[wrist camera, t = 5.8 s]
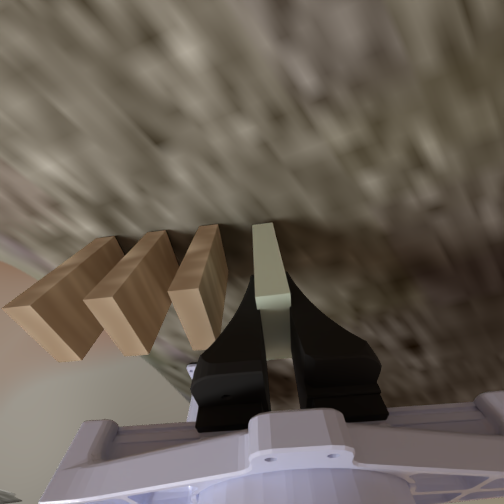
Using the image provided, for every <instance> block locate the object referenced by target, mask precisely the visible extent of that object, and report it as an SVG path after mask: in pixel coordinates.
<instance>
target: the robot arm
mask: <svg viewBox="0 0 504 504" xmlns="http://www.w3.org/2000/svg"><path fill="white" fill-rule="evenodd" d="M285 274H286V278H287V282H288V286H289V290H290V295H291V307H290V339H291V353H292V359H293V365H294V371H295V377H296V383H297V390H298V396H299V402H300V409H298V410H284V411H271V406H270V395H269V384H268V372H267V361H266V350H265V343H264V335H263V328H262V321H261V313H260V309H259V310H257V305H256V299H255V282H254V275H252V276H251V278H250V282H249V285H248V288H247V291H246V293H245V296H244V298H243V300H242V302H241V304H240V306H239V308H238V310H237V311H236V313H235V315H234V316H233V318H232V320H231V321H230V322H229V324H228V325H227V327H226V328H225V329H224V331H223V332H222V333H221V334H220V335H219V337H218V338H217V339H216V340H215V341H214V342H213V343H212V345H211V346H210V347H209V348H208V349H207V350H206V351H205V352H204V353H203V354H202V355H200V357H199V360H198V362H197V364H190V365H188V366H187V371H188V372H189V374H190V376H191V378H192V383H191V388H190V390H191V393H192V398H191V403H190V408H189V413H188V417H187V422H179V423H165V424H151V425H137V426H123V427H119V426H118V424H117V423H116V422H114V421H113V420H108V419H103V420H89V421H84V422H83V423H82V425H81V427H80V429H79V430H78V432H77V434H76V435H75V437H74V439H73V441H72V443H71V444H70V446H69V448H68V450H67V452H66V453H65V455H64V457H63V459H62V461H61V462H60V464H59V466H58V468H57V469H56V471H55V473H54V475H53V477H52V479H51V480H50V482H49V484H48V486H47V488H46V489H45V491H44V493H43V495H42V496H41V498H40V500H39V502H38V504H441V503H452V502H461V501H470V500H478V499H489V498H500V497H504V390H503V391H489V392H484V393H481V394H479V395H478V396H477V397H476V398H475V399H474V402H463V403H449V404H435V405H421V406H406V407H392V408H386V406H385V404H384V402H383V400H382V398H381V396H380V393H381V390H380V388H379V386H378V384H377V380H378V377H379V374H380V372H381V367H382V366H381V363H380V361H379V359H378V357H377V356H376V354H375V353H374V351H373V350H372V348H371V347H370V346H369V344H368V343H367V342H366V341H365V340H363V339H361V338H359V337H358V336H356V335H354V334H352V333H350V332H349V331H347V330H346V329H344V328H342V327H341V326H339V325H338V324H337V323H335V322H334V321H333V320H331V319H330V318H328V317H327V316H326V315H325V314H324V313H322V312H321V311H320V310H319V309H318V308H317V307H316V306H315V305H313V304H312V303H311V302H310V301H309V299H308V298H307V297H306V296H305V295H304V294H303V293H302V292H301V290H300V289H299V288H298V287H297V286H296V284H295V283H294V281H293V280H292V279H291V277H290V275H289V274H288V272H285Z"/></svg>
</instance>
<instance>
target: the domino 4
mask: <svg viewBox="0 0 504 504" xmlns="http://www.w3.org/2000/svg"><path fill="white" fill-rule="evenodd" d="M252 233H253V257H254V282H255V299H256V305H257V310H259V309H260V313H261V321H262V328H263V335H264V343H265V350H266V360H273V359H284V358H292V353H291V339H290V307H291V295H290V290H289V286H288V282H287V278H286V274H285V270H284V266H283V262H282V258H281V254H280V250H279V246H278V242H277V238H276V234H275V230H274V227H273V223H264V224H257V225H252Z"/></svg>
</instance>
